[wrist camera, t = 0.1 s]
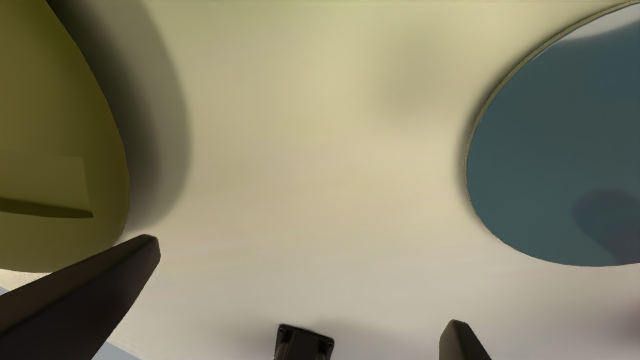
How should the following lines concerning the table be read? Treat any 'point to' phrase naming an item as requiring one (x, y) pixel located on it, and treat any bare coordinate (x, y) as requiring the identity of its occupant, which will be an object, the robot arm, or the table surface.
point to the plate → (565, 147)
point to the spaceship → (54, 147)
